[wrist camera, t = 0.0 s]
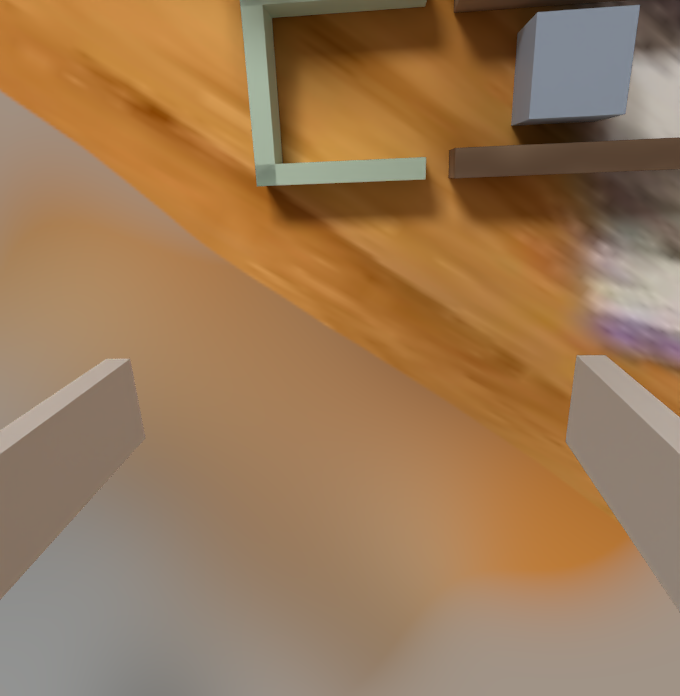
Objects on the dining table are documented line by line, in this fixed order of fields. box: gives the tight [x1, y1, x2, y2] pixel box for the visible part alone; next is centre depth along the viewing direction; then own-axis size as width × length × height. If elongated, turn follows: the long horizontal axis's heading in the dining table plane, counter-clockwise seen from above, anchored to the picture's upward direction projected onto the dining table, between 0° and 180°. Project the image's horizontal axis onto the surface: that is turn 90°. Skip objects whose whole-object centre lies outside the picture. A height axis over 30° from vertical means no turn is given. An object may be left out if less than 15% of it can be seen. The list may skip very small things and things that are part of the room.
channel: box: [449, 0, 680, 178], centre depth 34 cm, size 13×18×4 cm
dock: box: [240, 0, 427, 186], centre depth 36 cm, size 13×12×3 cm
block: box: [511, 5, 640, 126], centre depth 33 cm, size 6×6×5 cm
